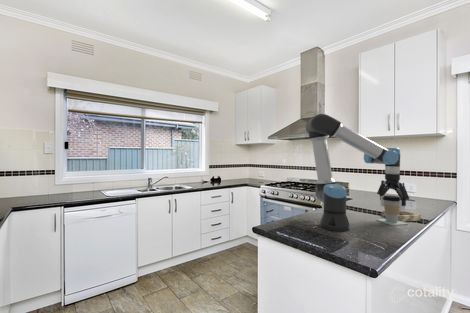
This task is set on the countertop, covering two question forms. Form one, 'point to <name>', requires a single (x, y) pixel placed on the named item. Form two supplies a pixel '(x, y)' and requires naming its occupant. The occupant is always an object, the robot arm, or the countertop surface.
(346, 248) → the countertop surface
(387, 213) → the coffee cup
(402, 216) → the holder
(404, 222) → the coaster
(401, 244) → the countertop surface
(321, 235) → the countertop surface
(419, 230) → the countertop surface
